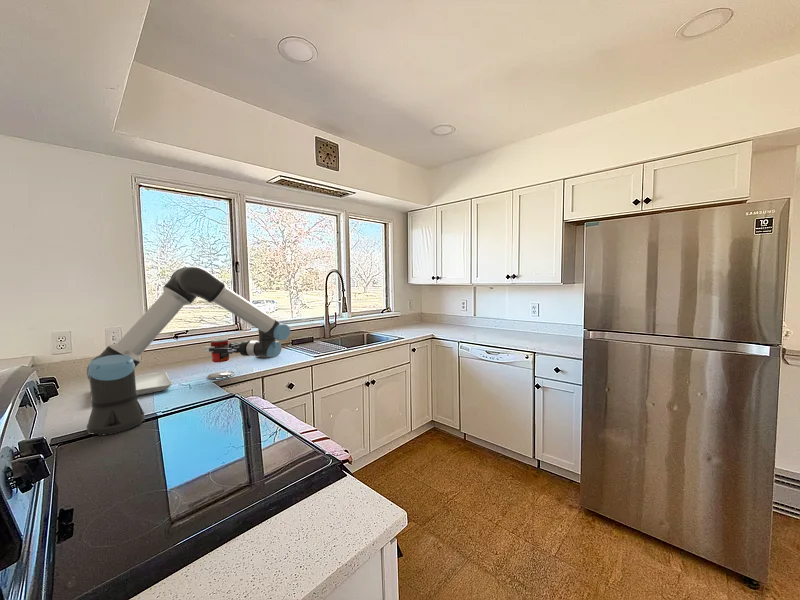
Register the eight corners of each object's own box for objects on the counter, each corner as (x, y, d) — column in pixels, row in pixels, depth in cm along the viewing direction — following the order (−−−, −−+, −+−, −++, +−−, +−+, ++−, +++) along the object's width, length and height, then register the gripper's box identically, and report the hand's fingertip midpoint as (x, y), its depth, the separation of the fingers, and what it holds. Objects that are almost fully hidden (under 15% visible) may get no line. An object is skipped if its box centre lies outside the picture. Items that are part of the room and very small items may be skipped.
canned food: (222, 362, 168) (220, 341, 167) (208, 362, 170) (206, 340, 169) (232, 358, 175) (231, 338, 175) (219, 358, 177) (217, 337, 176)
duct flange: (222, 380, 166) (222, 377, 166) (202, 378, 168) (201, 376, 168) (239, 373, 177) (239, 370, 177) (220, 372, 180) (219, 369, 180)
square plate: (94, 390, 155) (93, 382, 155) (166, 378, 172) (166, 370, 172) (91, 407, 134) (90, 398, 134) (173, 391, 152) (172, 382, 151)
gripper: (236, 361, 158) (196, 359, 163) (263, 351, 178) (226, 350, 183) (235, 345, 158) (194, 344, 163) (263, 336, 177) (225, 336, 183)
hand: (211, 347), depth 173 cm, fingers closed on canned food, 8 cm apart
